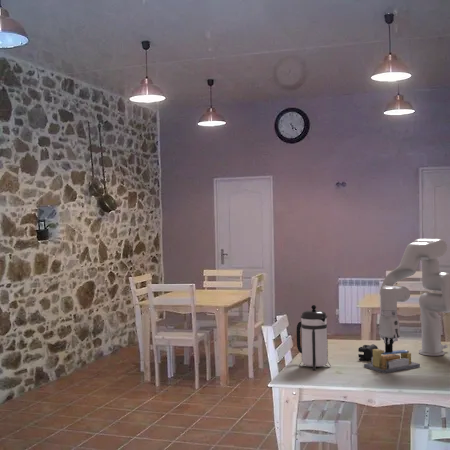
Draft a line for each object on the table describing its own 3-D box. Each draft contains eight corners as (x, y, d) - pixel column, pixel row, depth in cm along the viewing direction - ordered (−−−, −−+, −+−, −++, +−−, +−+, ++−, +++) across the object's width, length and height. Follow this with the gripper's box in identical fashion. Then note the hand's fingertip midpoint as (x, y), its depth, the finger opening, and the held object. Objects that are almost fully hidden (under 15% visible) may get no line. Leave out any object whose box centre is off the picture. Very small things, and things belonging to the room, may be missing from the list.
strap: (404, 351, 302) (404, 349, 302) (408, 352, 300) (408, 350, 300) (379, 353, 295) (379, 351, 295) (383, 355, 293) (383, 352, 293)
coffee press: (332, 363, 307) (331, 302, 306) (328, 371, 291) (327, 307, 291) (297, 362, 311) (296, 302, 311) (292, 369, 296) (290, 306, 295)
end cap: (371, 362, 308) (371, 348, 308) (358, 360, 312) (357, 347, 312) (378, 357, 317) (378, 344, 317) (365, 356, 321) (365, 343, 321)
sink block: (398, 361, 308) (398, 342, 308) (419, 367, 296) (419, 347, 296) (364, 367, 298) (363, 348, 298) (384, 373, 286) (383, 353, 285)
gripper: (406, 314, 291) (406, 354, 291) (384, 311, 304) (384, 348, 304) (393, 315, 287) (393, 355, 287) (372, 312, 301) (372, 350, 301)
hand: (388, 352), depth 296 cm, fingers closed
